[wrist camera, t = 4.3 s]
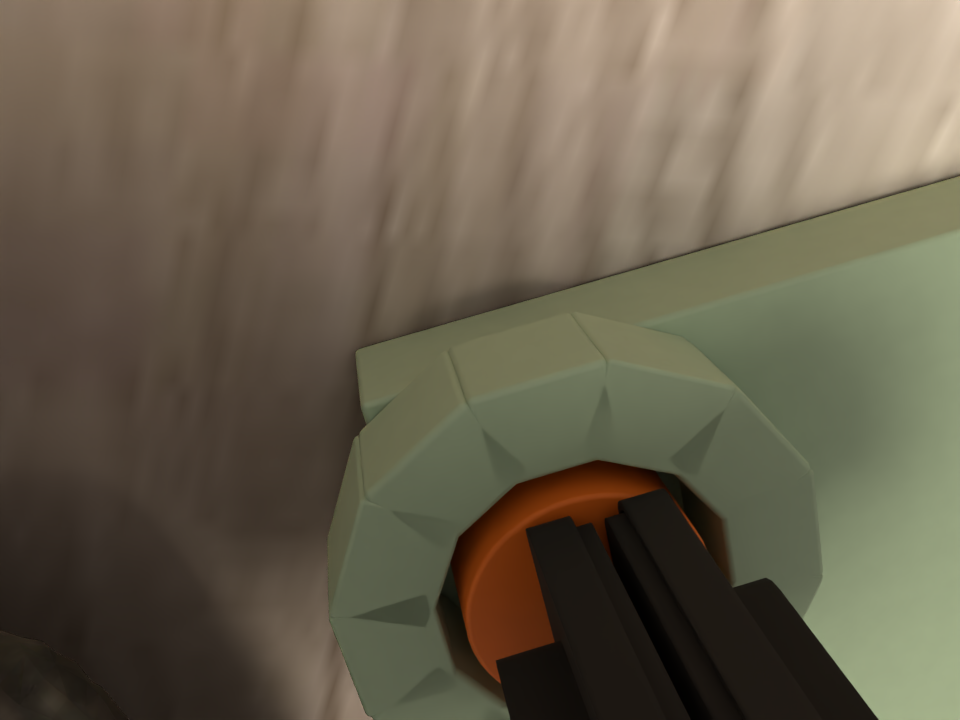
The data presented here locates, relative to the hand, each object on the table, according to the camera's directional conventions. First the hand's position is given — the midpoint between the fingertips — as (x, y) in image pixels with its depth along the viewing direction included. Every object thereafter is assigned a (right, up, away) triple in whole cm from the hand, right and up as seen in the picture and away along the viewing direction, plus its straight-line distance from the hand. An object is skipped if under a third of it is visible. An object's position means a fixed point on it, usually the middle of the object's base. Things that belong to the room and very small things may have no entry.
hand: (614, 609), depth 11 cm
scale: (+4, 0, +5) cm, 6 cm away
